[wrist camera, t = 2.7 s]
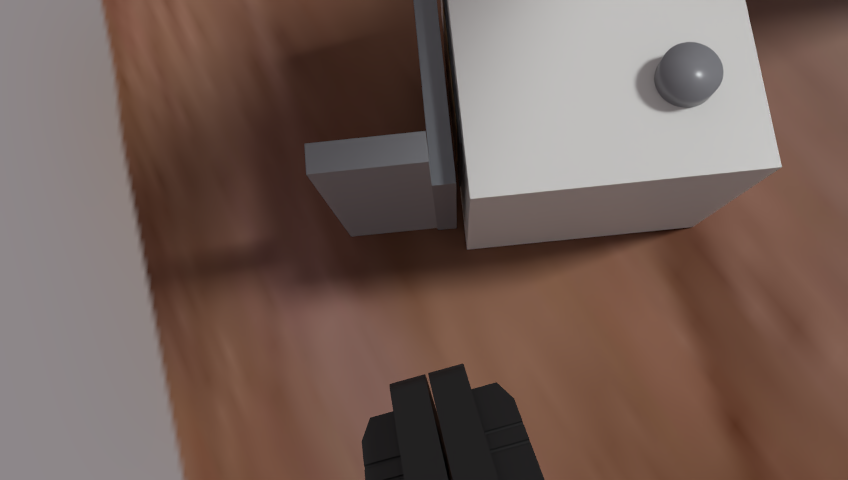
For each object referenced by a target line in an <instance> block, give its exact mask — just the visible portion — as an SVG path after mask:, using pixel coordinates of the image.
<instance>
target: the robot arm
mask: <svg viewBox="0 0 848 480" xmlns="http://www.w3.org/2000/svg"><path fill="white" fill-rule="evenodd" d="M428 374H429V379H430V384H431V388H432V392H433V397H434V401H435V404H434V401H433V398H432V395H431V391H430V388H429V385H428V381H427V378H426V375H425V374H424V375H421V376H417V377H414V378H410V379H406V380H403V381H399V382H396V383H392V384H390V392H391V399H392V405H393V412H389V413H386V414H382V415H379V416H375V417H371V418H370V420H369V423H368V425H367V428H366V431H365V434H364V437H363V439H362V449H363V459H364V466H365V480H544V477H543V475H542V472H541V469H540V467H539V464H538V461H537V459H536V456H535V453H534V451H533V448H532V445H531V443H530V441H529V437H528V435H527V432H526V429H525V427H524V425H523V422H522V419H521V416H520V413H519V411H518V408H517V405H516V403H515V400H514V398H513V397H512V396H511V395H509V394H508V393H507V392H506V391H505V390H504V389H503V388H502V387H501V386H500V385H499V384H498V383H497V382H496V383H493V384H489V385H485V386H482V387H478V388H475V389H471V387H470V384H469V381H468V377H467V374H466V371H465V368H464V364H460V365H456V366H452V367H449V368H445V369H442V370H438V371H435V372H431V373H428ZM435 405H436V408H435ZM436 409H437V411H436Z"/></svg>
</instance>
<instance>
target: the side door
mask: <svg viewBox="0 0 848 480" xmlns="http://www.w3.org/2000/svg"><path fill="white" fill-rule="evenodd" d="M413 1H414V11H415V21H416V31H417V41H418V51H419V61H420V72H421V82H422V92H423V102H424V112H425V122H426V131H420V132H410V133H401V134H391V135H382V136H372V137H363V138H353V139H344V140H334V141H325V142H315V143H306V144H305V162H306V175H307V176H308V178H309V179H310V180H311V182H312V183H313V185H314V186H315V187H316V189H317V190H318V192H319V193H320V194H321V196H322V197H323V198H324V200H325V201H326V203H327V204H328V205H329V207H330V208H331V210H332V211H333V212H334V214H335V215H336V216H337V218H338V219H339V221H340V222H341V223H342V225H343V226H344V228H345V229H346V230H347V232H348V233H349V234H350V236H351V237H352V236H362V235H372V234H382V233H392V232H402V231H412V230H421V229H431V228H437V229H438V230H443V229H453V228H457V217H456V177H455V167H454V158H453V149H452V139H451V130H450V121H449V111H448V102H447V93H446V83H445V74H444V65H443V55H442V46H441V37H440V27H439V18H438V8H437V0H413ZM426 132H427V138H426ZM427 142H428V146H427ZM428 153H429V154H428Z"/></svg>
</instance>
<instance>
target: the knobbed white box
mask: <svg viewBox="0 0 848 480" xmlns="http://www.w3.org/2000/svg"><path fill="white" fill-rule="evenodd" d="M441 15H442V24H443V33H444V49H445V61H446V71H447V80H448V89H449V99H450V108H451V117H452V126H453V136H454V145H455V154H456V162H457V170H458V179H459V187H460V190H461V200H462V209H463V218H464V227H465V237H466V246H467V250H469V249H479V248H489V247H499V246H509V245H519V244H529V243H539V242H549V241H559V240H568V239H578V238H588V237H598V236H608V235H618V234H628V233H638V232H648V231H658V230H668V229H678V228H688V227H693V226H695V225H696V224H698V223H699V222H701V221H702V220H704V219H705V218H707V217H708V216H710V215H711V214H713V213H714V212H716V211H717V210H719V209H720V208H722V207H723V206H725V205H726V204H728V203H729V202H731V201H732V200H734V199H735V198H737V197H738V196H740V195H741V194H742V193H744V192H745V191H747V190H748V189H750V188H751V187H753V186H754V185H756V184H757V183H759V182H760V181H762V180H763V179H765V178H766V177H768V176H769V175H771V174H772V173H774V172H775V171H777V170H778V169H780V168H781V167H782V166H781V161H780V157H779V152H778V148H777V143H776V138H775V134H774V129H773V125H772V120H771V116H770V111H769V106H768V102H767V97H766V93H765V88H764V83H763V79H762V74H761V70H760V65H759V61H758V56H757V51H756V47H755V42H754V38H753V33H752V28H751V24H750V19H749V15H748V10H747V6H746V1H745V0H441Z"/></svg>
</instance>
